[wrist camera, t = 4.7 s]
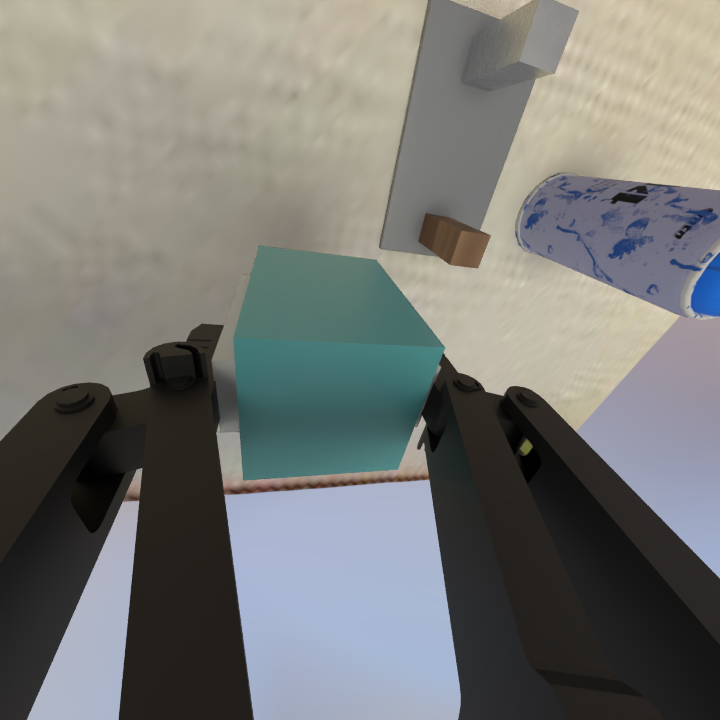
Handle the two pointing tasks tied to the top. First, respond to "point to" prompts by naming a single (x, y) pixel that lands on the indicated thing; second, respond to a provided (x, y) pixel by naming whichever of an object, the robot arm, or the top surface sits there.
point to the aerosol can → (630, 238)
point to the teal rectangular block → (327, 366)
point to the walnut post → (453, 240)
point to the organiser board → (449, 133)
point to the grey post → (519, 46)
